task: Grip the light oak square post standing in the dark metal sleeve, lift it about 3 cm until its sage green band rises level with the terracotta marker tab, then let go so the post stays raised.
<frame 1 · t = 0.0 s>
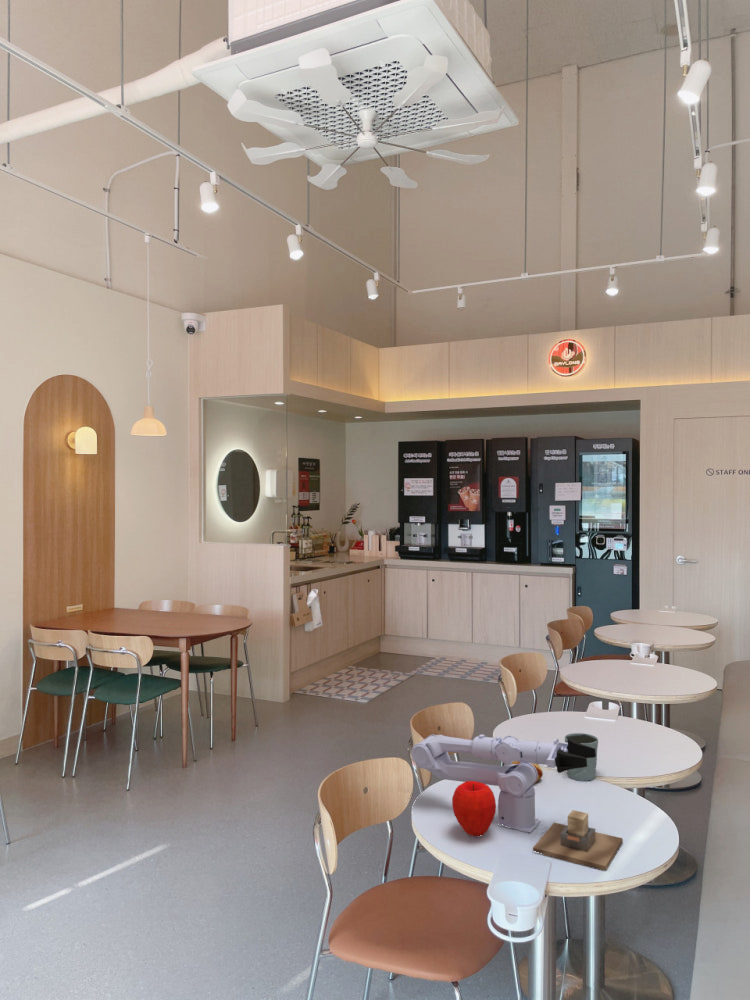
hand: (591, 757, 193), 22 cm above the table, tool horizontal, fingers open, 7 cm apart
board: (578, 847, 190), on the table
croissant: (526, 780, 234), on the table
green cup: (581, 776, 236), on the table
post: (578, 828, 190), point 5 cm above the table, slide at 0.0 cm
apple: (474, 834, 199), on the table
sleeve: (577, 837, 190), on the board, point 3 cm above the table
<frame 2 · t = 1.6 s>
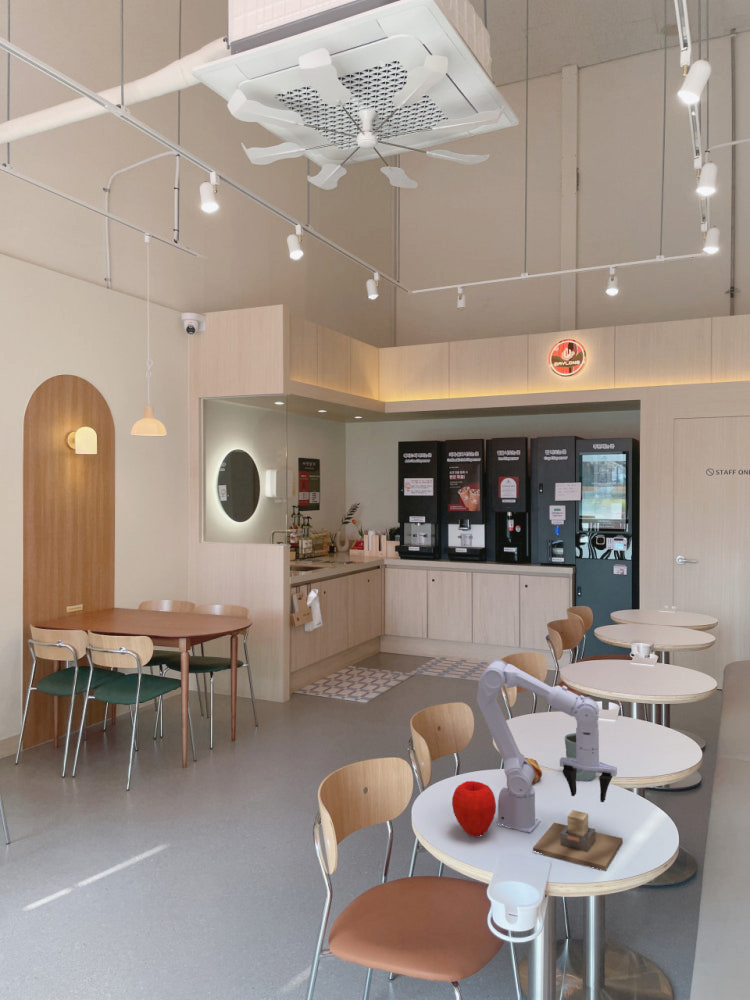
hand: (588, 797, 197), 9 cm above the table, tool pointing down, fingers open, 7 cm apart
nothing on the table moved.
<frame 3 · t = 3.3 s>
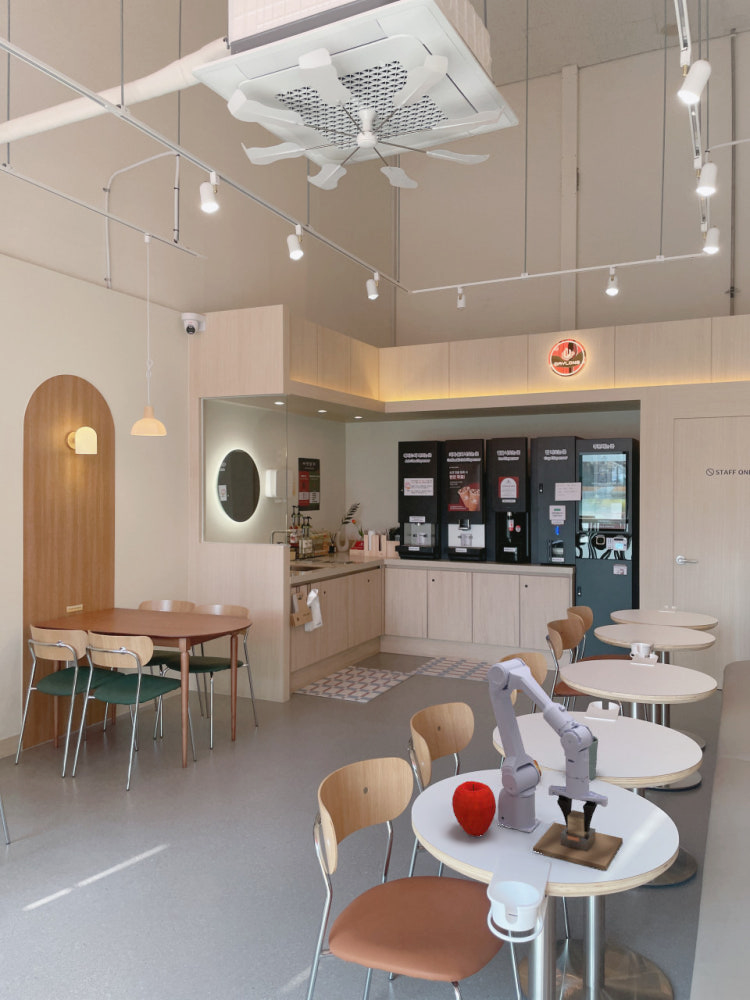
hand: (578, 828, 190), 5 cm above the table, tool pointing down, fingers closed on post, 4 cm apart
post: (578, 828, 190), point 5 cm above the table, slide at 0.0 cm, touching gripper
everything else where it was.
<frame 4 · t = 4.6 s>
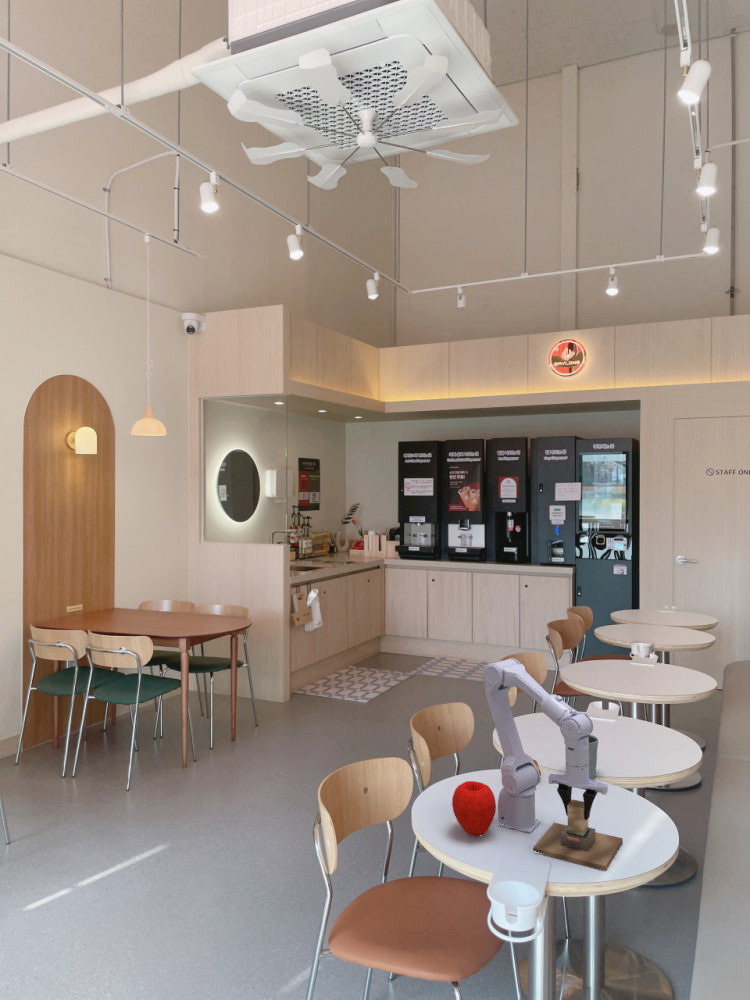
hand: (577, 816, 190), 8 cm above the table, tool pointing down, fingers closed on post, 4 cm apart
post: (577, 817, 190), point 8 cm above the table, slide at 2.8 cm, touching gripper
everything else where it was.
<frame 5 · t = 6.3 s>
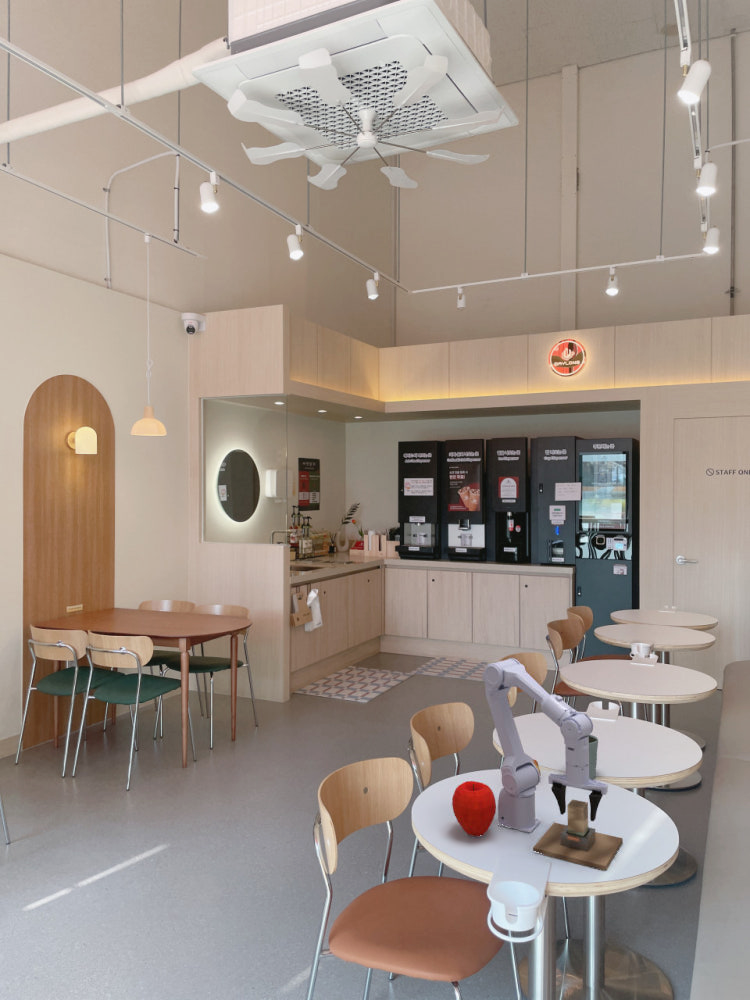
hand: (577, 816, 190), 8 cm above the table, tool pointing down, fingers open, 7 cm apart
post: (577, 817, 190), point 8 cm above the table, slide at 2.8 cm
everything else where it was.
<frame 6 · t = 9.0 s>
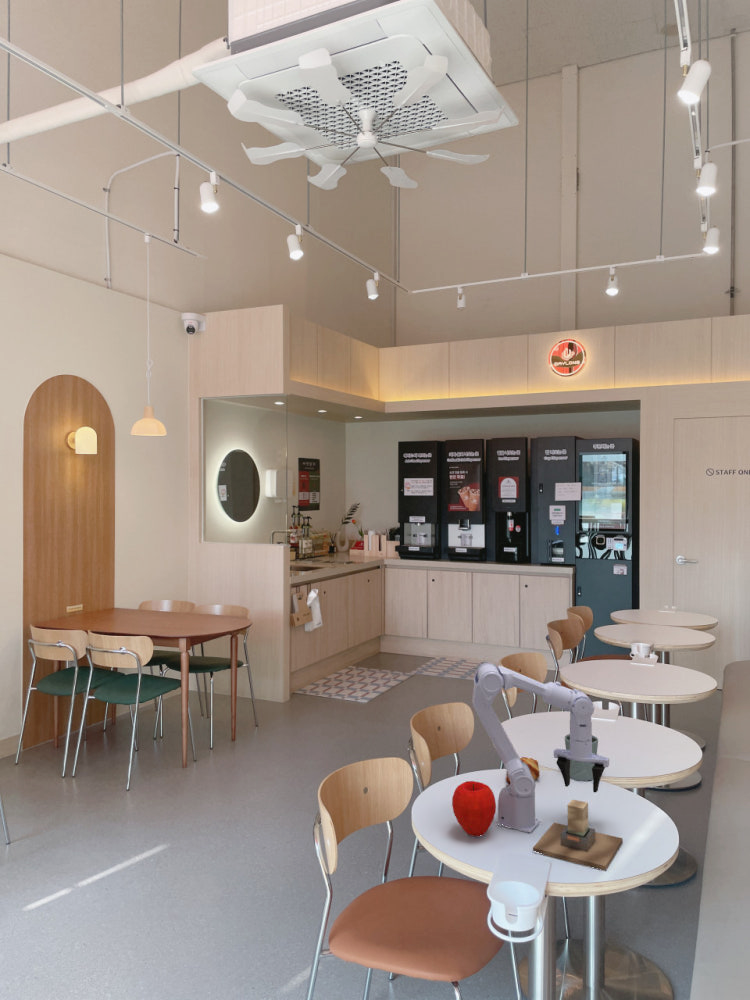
hand: (581, 788, 202), 10 cm above the table, tool pointing down, fingers open, 7 cm apart
nothing on the table moved.
at the end: post slide at 2.8 cm; the gripper is holding nothing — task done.
